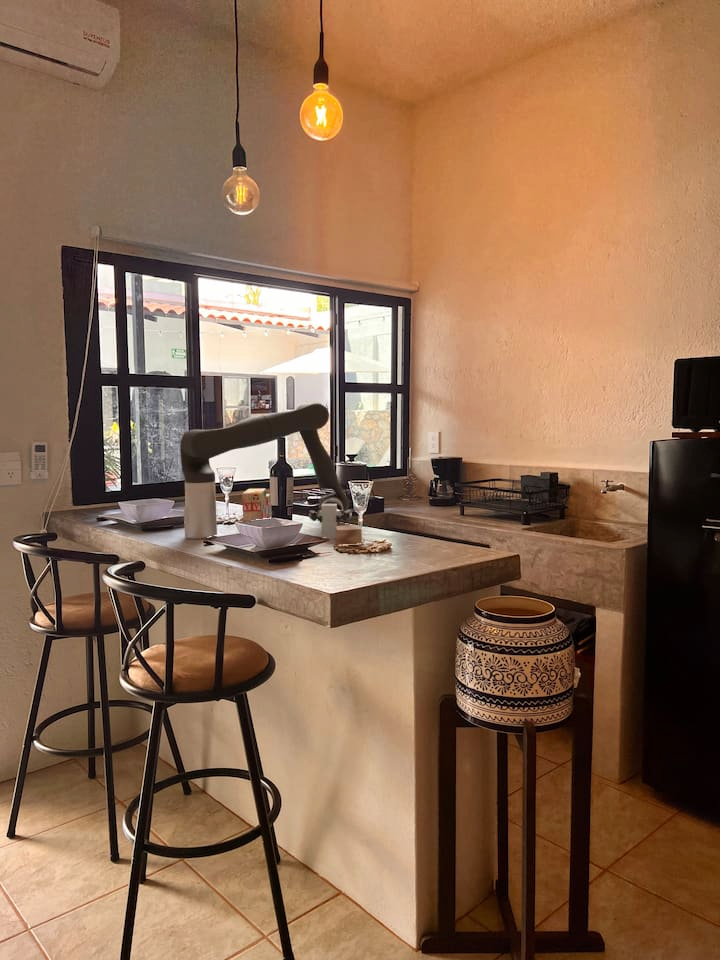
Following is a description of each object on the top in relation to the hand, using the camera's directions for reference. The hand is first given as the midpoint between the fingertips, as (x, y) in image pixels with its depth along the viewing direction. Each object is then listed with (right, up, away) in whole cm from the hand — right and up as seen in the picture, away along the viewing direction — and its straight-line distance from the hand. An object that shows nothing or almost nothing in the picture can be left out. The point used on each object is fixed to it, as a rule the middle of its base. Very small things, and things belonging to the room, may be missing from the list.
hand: (329, 518), depth 208 cm
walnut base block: (+6, -7, -8) cm, 12 cm away
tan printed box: (-26, -4, +29) cm, 39 cm away
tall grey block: (0, -6, +3) cm, 7 cm away
